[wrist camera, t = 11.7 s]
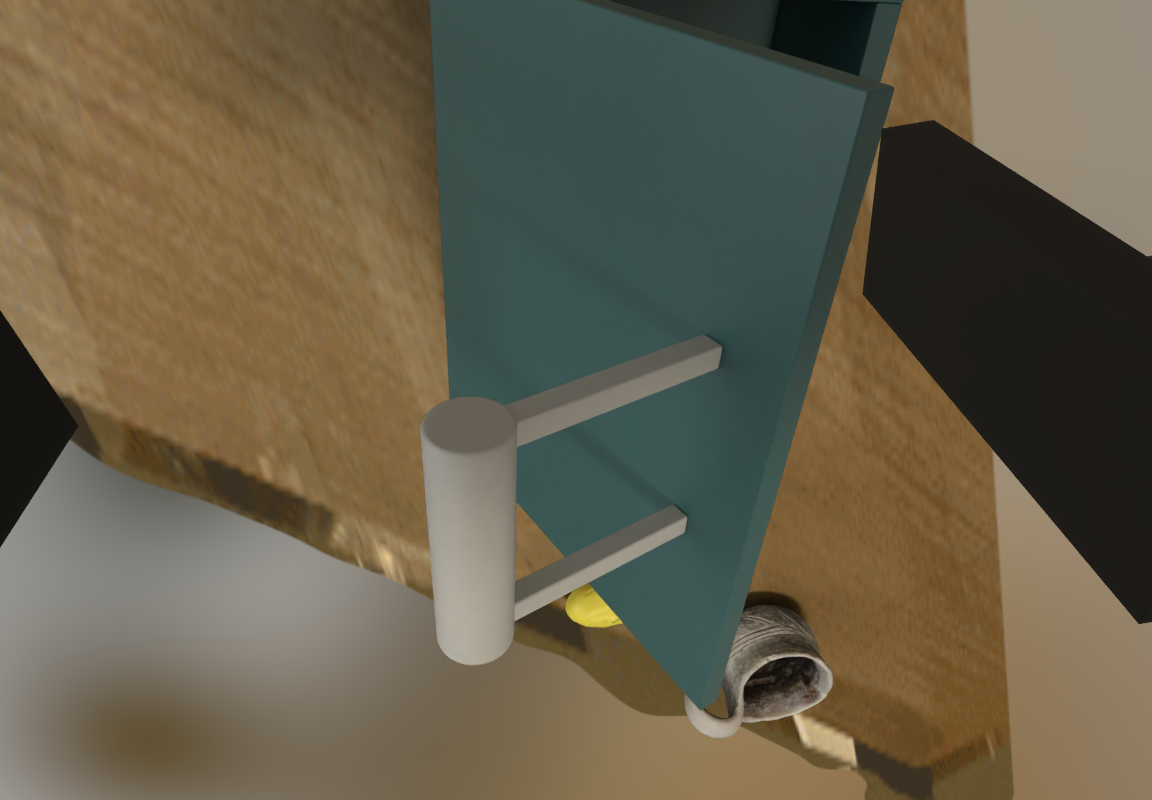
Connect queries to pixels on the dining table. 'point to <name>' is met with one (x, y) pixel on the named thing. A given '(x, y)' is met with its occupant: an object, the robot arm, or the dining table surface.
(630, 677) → the dining table surface
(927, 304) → the robot arm
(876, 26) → the cooler
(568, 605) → the lemon
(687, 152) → the cooler lid
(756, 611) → the mug
